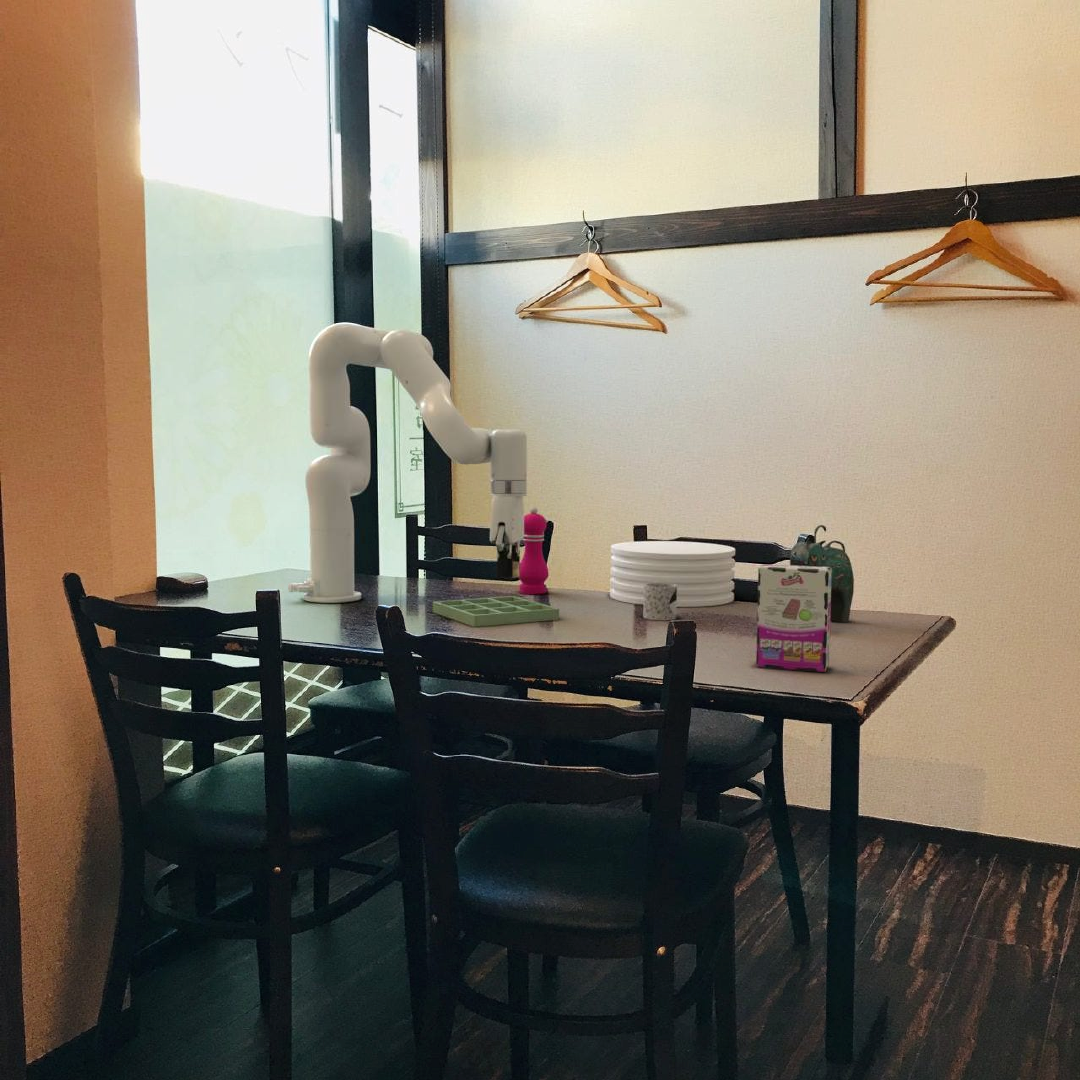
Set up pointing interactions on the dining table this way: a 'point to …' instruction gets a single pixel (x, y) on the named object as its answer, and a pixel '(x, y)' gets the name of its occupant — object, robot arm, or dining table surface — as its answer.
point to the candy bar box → (793, 617)
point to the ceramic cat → (840, 575)
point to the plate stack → (673, 571)
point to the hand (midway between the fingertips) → (508, 575)
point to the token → (515, 569)
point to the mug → (660, 601)
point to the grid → (495, 611)
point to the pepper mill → (533, 555)
